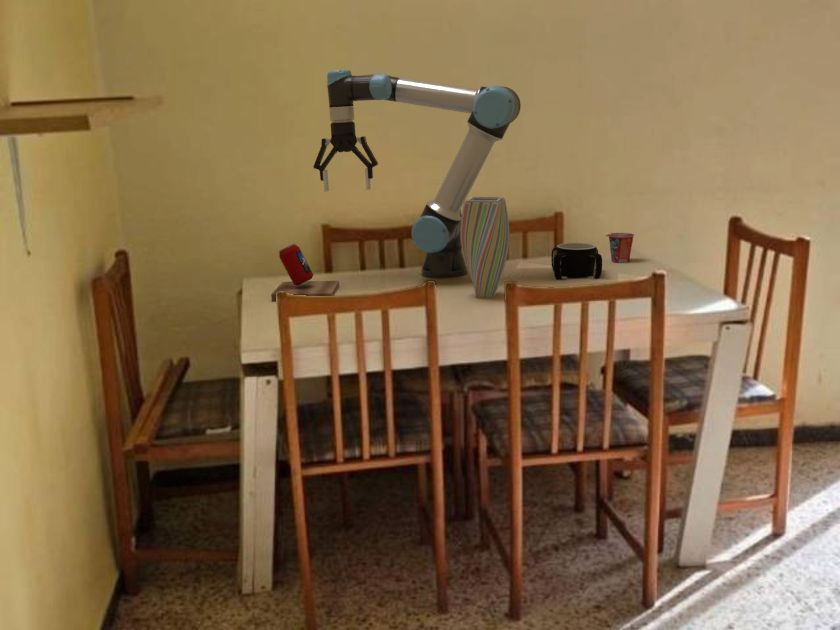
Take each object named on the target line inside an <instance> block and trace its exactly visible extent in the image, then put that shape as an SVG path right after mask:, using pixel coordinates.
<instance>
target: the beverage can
mask: <svg viewBox="0 0 840 630" xmlns="http://www.w3.org/2000/svg"><path fill="white" fill-rule="evenodd" d="M278 253H279V259H280V261H281V263H282V265H283V267H284V269H285V271H286V273H287V274H288V276H289V278H290V280H291V282H293V284H294V285H297V286H299V285H301V284H303V283H305V282H307V281H311V280H312V279H313V278H314V277H313V276H314V273H313V270H311V267H310V265H309V264H308V261H307V260H306V258H305V256H304V254H303V252H302V250H301V248H300V247H299V246H298V245H297V244H295V242H294V243H292V244H290V245H288V246H285V247H284V248H282V249H280V250H279V251H278Z"/></svg>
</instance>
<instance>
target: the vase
mask: <svg viewBox="0 0 840 630" xmlns="http://www.w3.org/2000/svg"><path fill="white" fill-rule="evenodd" d="M506 203H507V201H506V199H505V198H504V197H503V196H471V197H470V198H467V199H466V200H465V202H464V204H463V205H462V210H461V214H462V217H461V234H460V235H461V245H462V254H463V257H464V260H465V263H466V266H467V272H468V274H469V276H470V279H471V283H472V285H473V289H474V293H475V295H474V296H475V298H476V299H477V298H480V299H481V298H482V299H483V298H495V297H496V295H497V291H498V288H499V285H500V283H501V280H502V276H503V273H504V269H505V266H506V264H507V263H506V262H507V258H508V252H509V245H510V244H509V243H510V223H509V216H508V215H509V213H508V207H507V204H506Z"/></svg>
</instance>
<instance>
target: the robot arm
mask: <svg viewBox="0 0 840 630" xmlns="http://www.w3.org/2000/svg"><path fill="white" fill-rule="evenodd" d="M326 80H327V81H326V83H327V96H328V107H329V121H330V122H331V124H330V135H331V136H330V138H327V137H324V138H321V146H320V148H319V150H318V154H317V156H316V158H315V162H314V164H313V169H316V170H318V171H319V180H320V181H321V182H323V191H324V192H327V193H328V192H329V191H330V186H329V173H328V169H326V168H327V166H328V165H329V163H330V162H331V161H332V160H333V158H334V156H335V155H336V154H337V153H343V152H345V153H348V152H352V154H354V156H356V157H357V158H358V159H359V160H360V161H361V162H362V163H363V165H364V166H365V167H366V168H364V172H365V173H364V174H365V190H367V191H370V190H371V179H373V178H374V174H373V170H374V169H373V168H374V167H377V166H378V165H379V162H378V161H377V159H376V157H375V155H374V153H373V152H372V149H371V148H370V146H369V145H368V142H367V138H366V137H367V136H365V135H362V136H360V137H357V135H356V124H355V121H353V120H355V108H354V102H359V101H362V102H363V101H387V102H388V101H390V102H396V103H404V104H408V105H409V104H410V105H416V106H420V107H428V108H434V109H439V110H440V109H441V110H446V111H454V112H460V113H466V114H470V115H469V117H468V119H467V121H466V123H467V126H468V131H467V133H466V135H465V137H464V139H463V141H462V142H461V144H460V147H459V148H458V151H457V153H456V155H455V157H454V159H453V160H452V163H451V165H450V167H449V169H448V171H447V173H446V175H445V177H444V179H443V181H442V183H441V185H440V188H439V189H438V191H437V194H436V195H435V197H434V198H433V200H432V199H431V200H429V201H427V202H426V203H425V204H426V205H425V207H424V208H423V209H422V210H423V211H422V212H421V214H420V216H419V218H417V219H416V221H414V223H413V225H412V227H411V238H412V241H413V243H414V245H415V246H416V247H417V248H418V249H419V250H420V251H423V252H425V256H424V260H423V262H422V267H421V276H422V277H424V278H427V279H453V278H458V277H463V276H466V275H467V274H468V268H467V265H466V262H465V259H464V255H463V251H462V245H461V235H460V234H461V219H462V208H463V205H464V202H465V201H466V200H467V199H468V198H467V197H468V195H469V193H470V192H471V190H472V187H473V186H474V183H475V182H476V179H477V178H478V175H480V174H479V173H480V172H481V170H482V168H483V166H484V164H485V162H486V160H487V158H488V157H489V154H490V153H491V150H492V148H493V146H494V144H495V143H496V142H498V141H501V140H503V138H504V137H505V134H506V132H507V130H508V129H509V126H510V125H511V123H513V122H514V121H515V120H516V119H517V118H518V117H519V114H520V113H521V106H522V105H521V100H520V97H519V95H518V93H516V92H515V91H514V90H513V89H512V88H510V87H507V86H501V85H491V86H482V85H481V86H480V87H478V88H472V87H465V86H460V85H459V86H458V85H451V84H445V83H439V82H430V81H426V80H417V79H412V78H404V77H397V76H391V75H389V74H387V73H375V74H364V75H362V74H361V75H353V74H352V71H351V70H350V69H333V70H329V71H328V72H327V75H326ZM357 143H359V145H361V146H362V148H363V149H364V152H365V154H366V156H367V157H368V159H369V160H368V159H367V158H366V157H365V155H364V154H363V153H362V152H361V151H360V149H359V148H358V147H357V146H356V145H357ZM330 144H331V145H332V149H330V152H329V153H328V154H327V155H326V157H325V159H324V161H323V158H324V156H325V152H326V150H327V147H328V146H330ZM322 161H323V162H322Z"/></svg>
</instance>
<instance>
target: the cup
mask: <svg viewBox="0 0 840 630" xmlns="http://www.w3.org/2000/svg"><path fill="white" fill-rule="evenodd" d="M605 237H608V239H609V249H610V259H611V262H612V263H613V264H625V263H629V262H630V258H631V253H632V245H633V241H634V237H635V234H634V233H631V232H612V233H608V234H606V235H605Z"/></svg>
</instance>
